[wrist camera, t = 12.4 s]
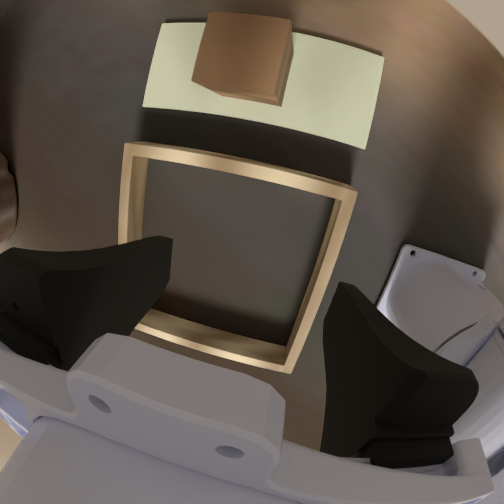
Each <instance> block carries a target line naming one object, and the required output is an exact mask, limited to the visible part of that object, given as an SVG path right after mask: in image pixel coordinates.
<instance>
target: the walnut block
mask: <svg viewBox="0 0 504 504" xmlns="http://www.w3.org/2000/svg"><path fill="white" fill-rule="evenodd" d="M293 55H294V50H293V36H292V23H291V20H290V19H284V18H278V17H271V16H263V15H255V14H245V13H232V12H210V11H209V14H208V18H207V21H206V25H205V28H204V32H203V35H202V39H201V42H200V46H199V50H198V54H197V58H196V62H195V66H194V70H193V74H192V79H191V81H192V82H194V83H197V84H199V85H201V86H203V87H205V88H207V89H209V90H211V91H213V92H215V93H217V94H219V95H221V96H223V97H230V98H237V99H243V100H249V101H254V102H260V103H265V104H270V105H275V106H279V107H281V106H282V102H283V98H284V93H285V89H286V85H287V80H288V76H289V72H290V67H291V63H292V59H293Z"/></svg>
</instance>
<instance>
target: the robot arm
mask: <svg viewBox="0 0 504 504" xmlns="http://www.w3.org/2000/svg"><path fill="white" fill-rule="evenodd" d="M172 244H173V239H171V238H167V237H164V236H153V237H148V238H144V239H140V240H135V241H132V242H128V243H123V244H119V245H114V246H110V247H105V248H99V249H92V250H84V251H67V252H50V251H36V250H28V249H21V248H15V247H13V248H10V249H8V250H6V251H4V252H3V253H1V254H0V417H1V418H2V419H3V420H4V421H5V422H6V423H7V424H8V425H9V426H10V427H11V428H12V429H13V430H14V431H15V432H16V433H17V434H19V435H20V436H21V437H22V438H23V440H22V441H21V443H20V444H19V445H18V447H17V448H16V450H15V451H14V453H13V454H12V456H11V457H10V458H9V460H8V461H7V463H6V464H5V466H4V468H3V469H2V470H1V472H0V504H504V306H503V305H502V304H501V303H500V302H499V301H498V300H497V299H496V297H495V296H494V295H493V294H492V293H491V292H490V291H489V290H488V289H487V288H486V287H485V286H484V285H483V284H482V282H483V280H484V278H485V275H486V273H485V271H484V270H482V269H480V268H477V267H474V266H471V265H469V264H466V263H463V262H460V261H457V260H455V259H452V258H449V257H446V256H443V255H440V254H437V253H434V252H431V251H428V250H425V249H422V248H419V247H416V246H413V245H410V244H405V245H403V246H402V248H401V250H400V253H399V255H398V258H397V260H396V263H395V265H394V267H393V270H392V272H391V275H390V277H389V279H388V281H387V284H386V286H385V288H384V290H383V293H382V295H381V297H380V299H379V301H378V303H377V306H376V307H375V306H374V305H373V304H372V303H371V302H370V300H369V299H368V298H367V297H366V296H365V295H364V294H363V293H362V292H361V291H360V290H359V289H358V288H356V287H355V286H354V285H352V284H348V283H344V282H340V281H339V284H338V287H337V289H336V292H335V294H334V297H333V299H332V302H331V304H330V307H329V309H328V312H327V314H326V316H325V319H324V325H323V348H324V359H325V370H326V386H327V392H326V407H325V418H324V427H323V434H322V441H321V447H320V451H317V450H314V449H310V448H307V447H304V446H301V445H298V444H295V443H293V442H290V441H287V440H284V439H282V437H283V428H284V419H285V400H284V399H283V398H282V397H281V396H280V394H279V393H278V392H277V391H276V390H275V389H274V388H273V387H272V386H271V385H270V384H268V383H265V382H263V381H261V380H258V379H256V378H254V377H251V376H249V375H247V374H245V373H241V372H237V371H233V370H229V369H226V368H222V367H219V366H215V365H212V364H208V363H205V362H201V361H198V360H195V359H192V358H189V357H186V356H182V355H179V354H176V353H173V352H171V351H168V350H165V349H162V348H159V347H156V346H153V345H151V344H148V343H145V342H143V341H140V340H137V339H135V338H132V337H129V335H130V334H131V332H132V331H133V330H134V328H135V327H136V326H137V324H138V323H139V322H140V321H141V320H142V318H143V317H144V316H145V315H146V313H147V312H148V311H149V310H150V308H151V307H152V306H153V305H154V303H155V302H156V301H157V300H158V298H159V297H160V296H161V294H162V292H163V291H164V289H165V287H166V285H167V284H168V282H169V280H170V267H171V255H172ZM413 250H414V254H412V255H410V253H411V251H413ZM474 271H475V273H474V274H473V272H474Z"/></svg>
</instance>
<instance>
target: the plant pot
mask: <svg viewBox="0 0 504 504" xmlns="http://www.w3.org/2000/svg"><path fill="white" fill-rule="evenodd" d="M7 165H8V161H7V159H6V157H5V156H4V155H3V154H2V153H1V152H0V245H1V244H2V243H4V242H6V241H7V240H8V239H9V237H10V236H11V235H12V233H13V232H14V230H15V227H16V222H17V196H16V188H15V183H14V178H13V175H11V174H10V173H9V171H8V167H7Z"/></svg>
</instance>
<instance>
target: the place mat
mask: <svg viewBox="0 0 504 504" xmlns="http://www.w3.org/2000/svg"><path fill="white" fill-rule="evenodd" d="M205 25H206V23H162V26H161V30H160V33H159V37H158V40H157V44H156V48H155V52H154V56H153V60H152V64H151V68H150V72H149V77H148V82H147V86H146V91H145V96H144V102H143V107H151V108H164V109H175V110H185V111H193V112H201V113H209V114H216V115H223V116H229V117H235V118H241V119H246V120H252V121H257V122H262V123H267V124H272V125H276V126H281V127H285V128H289V129H294V130H298V131H302V132H306V133H310V134H314V135H317V136H321V137H325V138H328V139H332V140H335V141H339V142H342V143H345V144H348V145H352V146H355V147H358V148H361V149H365V148H366V144H367V140H368V136H369V131H370V127H371V123H372V118H373V114H374V109H375V105H376V100H377V95H378V90H379V85H380V80H381V75H382V69H383V63H384V57H382V56H379V55H376V54H373V53H370V52H367V51H364V50H361V49H358V48H355V47H352V46H349V45H345V44H342V43H338V42H334V41H331V40H327V39H323V38H319V37H314V36H310V35H305V34H300V33H295V32H292V36H293V50H294V55H293V59H292V63H291V67H290V72H289V76H288V80H287V85H286V89H285V93H284V98H283V102H282V106H281V107H279V106H275V105H270V104H265V103H260V102H254V101H249V100H243V99H237V98H230V97H223V96H221V95H219V94H217V93H215V92H213V91H211V90H209V89H207V88H205V87H203V86H201V85H199V84H197V83H194V82H192V81H191V79H192V74H193V70H194V66H195V62H196V58H197V54H198V50H199V46H200V42H201V39H202V35H203V32H204V28H205Z"/></svg>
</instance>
